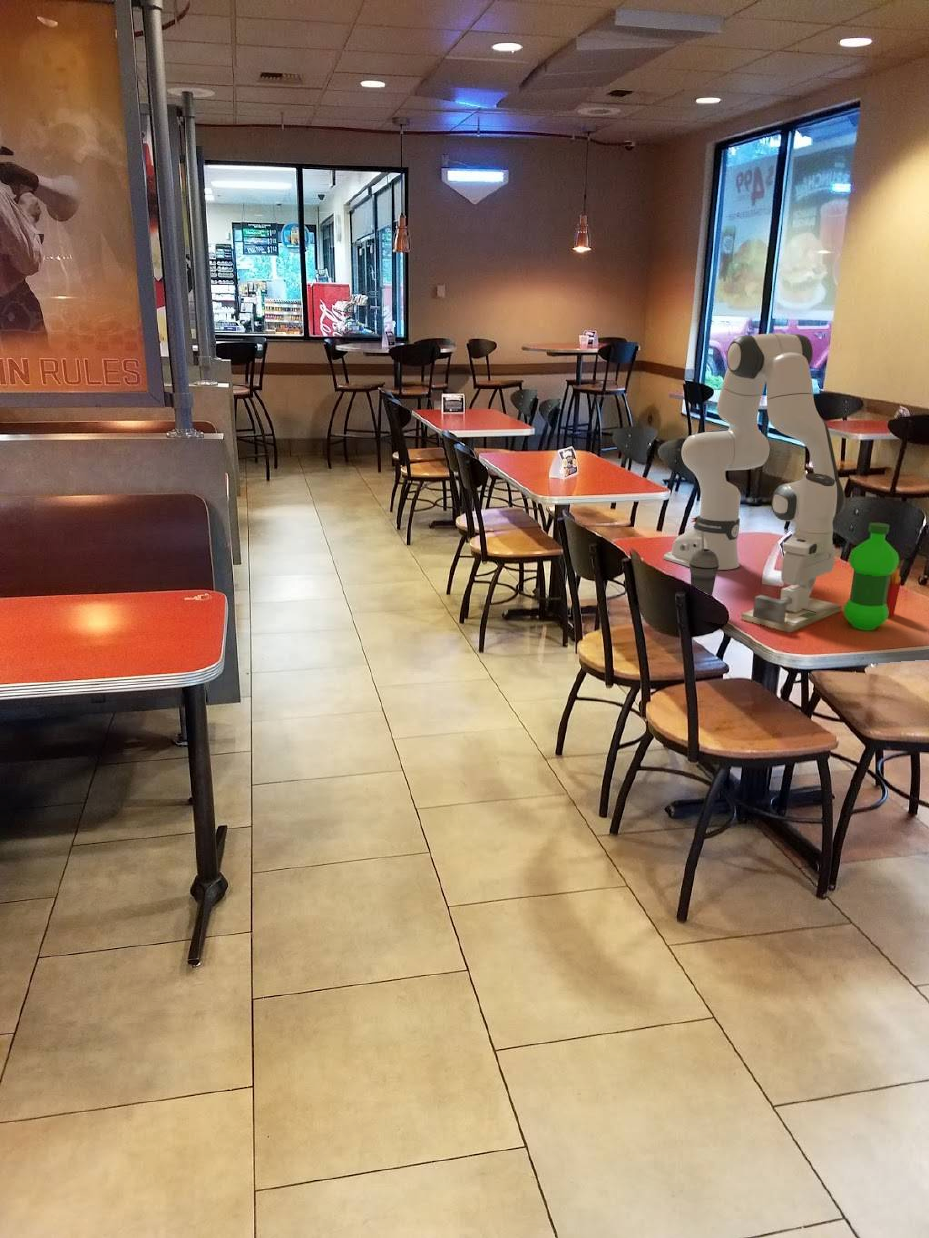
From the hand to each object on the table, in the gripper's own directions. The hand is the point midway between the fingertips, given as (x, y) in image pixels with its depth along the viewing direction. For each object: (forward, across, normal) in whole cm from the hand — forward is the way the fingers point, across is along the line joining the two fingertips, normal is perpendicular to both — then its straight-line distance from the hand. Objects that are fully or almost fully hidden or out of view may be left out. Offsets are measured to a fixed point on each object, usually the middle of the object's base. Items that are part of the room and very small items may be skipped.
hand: (805, 594), depth 230 cm
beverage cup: (+4, +18, -18) cm, 26 cm away
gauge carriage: (+2, +6, +2) cm, 7 cm away
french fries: (+4, -14, +14) cm, 20 cm away
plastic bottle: (+4, 0, +16) cm, 16 cm away
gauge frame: (+4, +5, 0) cm, 7 cm away
